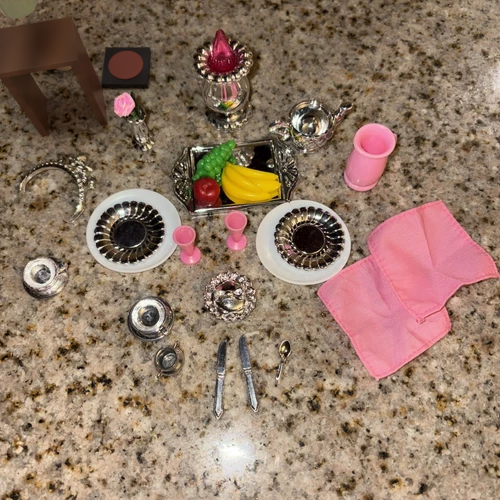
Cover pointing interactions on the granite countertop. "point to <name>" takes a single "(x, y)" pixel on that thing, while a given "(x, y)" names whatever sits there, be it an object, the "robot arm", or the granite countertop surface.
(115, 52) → the hob
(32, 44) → the brown wooden stool
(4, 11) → the jar
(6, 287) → the granite countertop surface
